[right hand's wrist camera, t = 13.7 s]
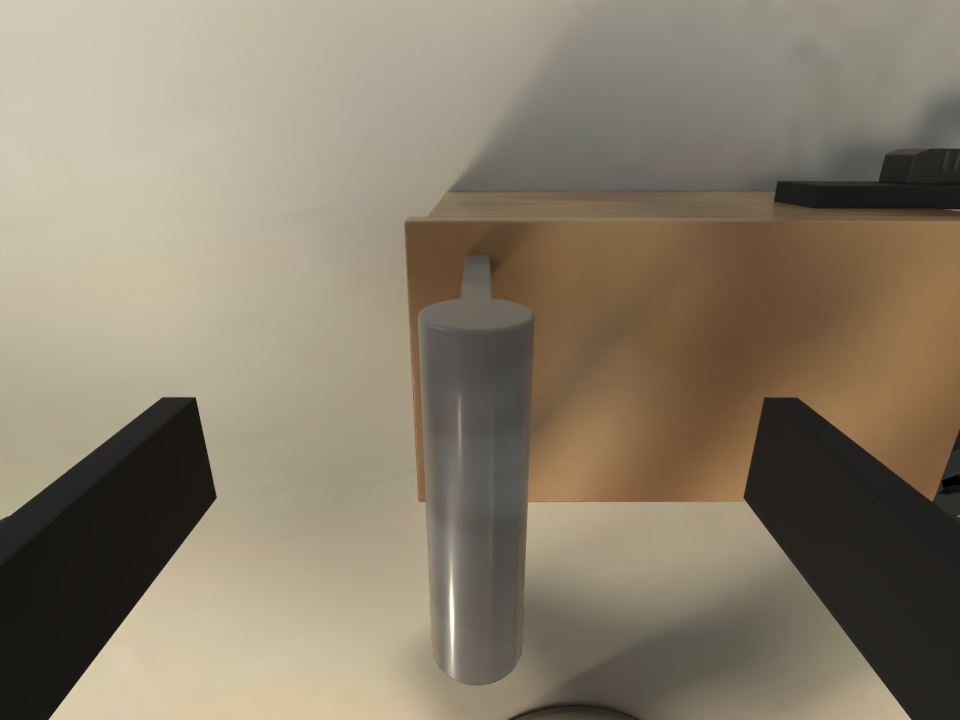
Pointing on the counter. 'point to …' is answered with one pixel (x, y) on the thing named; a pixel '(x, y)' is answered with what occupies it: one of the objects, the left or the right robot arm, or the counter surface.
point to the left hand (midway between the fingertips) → (767, 327)
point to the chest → (648, 205)
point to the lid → (652, 374)
